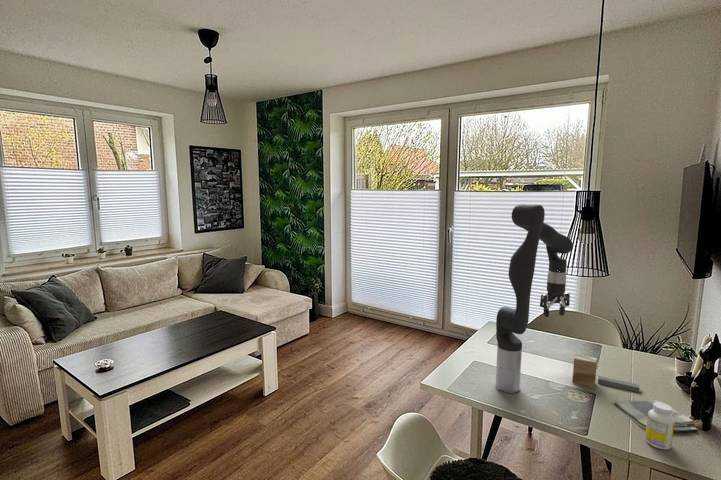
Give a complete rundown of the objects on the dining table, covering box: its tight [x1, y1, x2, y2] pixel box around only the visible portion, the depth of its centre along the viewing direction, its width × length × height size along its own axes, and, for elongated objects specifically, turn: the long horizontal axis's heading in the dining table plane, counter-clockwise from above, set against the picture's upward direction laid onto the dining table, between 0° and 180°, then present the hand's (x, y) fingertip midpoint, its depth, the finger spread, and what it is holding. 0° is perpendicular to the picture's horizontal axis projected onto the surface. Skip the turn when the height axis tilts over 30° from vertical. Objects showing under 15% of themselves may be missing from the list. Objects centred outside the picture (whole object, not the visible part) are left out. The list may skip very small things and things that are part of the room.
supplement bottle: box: [644, 401, 675, 450], centre depth 121 cm, size 7×7×13 cm
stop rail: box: [597, 375, 640, 394], centre depth 157 cm, size 3×14×2 cm, turn 57°
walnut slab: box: [571, 353, 598, 389], centre depth 160 cm, size 4×8×11 cm, turn 57°
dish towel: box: [613, 399, 700, 434], centre depth 136 cm, size 19×18×3 cm
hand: (553, 315), depth 175 cm, fingers open, 8 cm apart
